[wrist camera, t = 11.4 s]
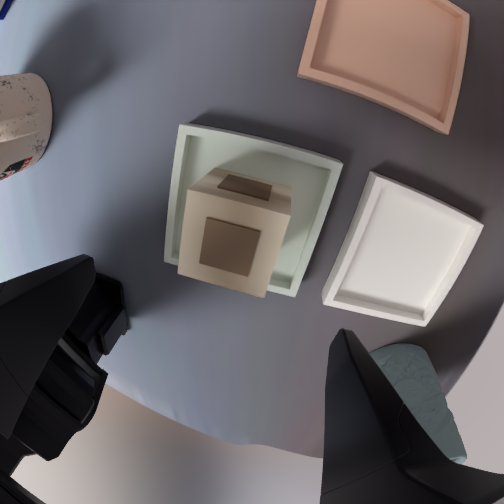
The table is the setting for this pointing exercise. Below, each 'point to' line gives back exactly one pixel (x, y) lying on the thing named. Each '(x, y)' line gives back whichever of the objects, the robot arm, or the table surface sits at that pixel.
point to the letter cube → (233, 230)
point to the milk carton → (4, 8)
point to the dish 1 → (264, 167)
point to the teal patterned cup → (421, 394)
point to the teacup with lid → (23, 121)
